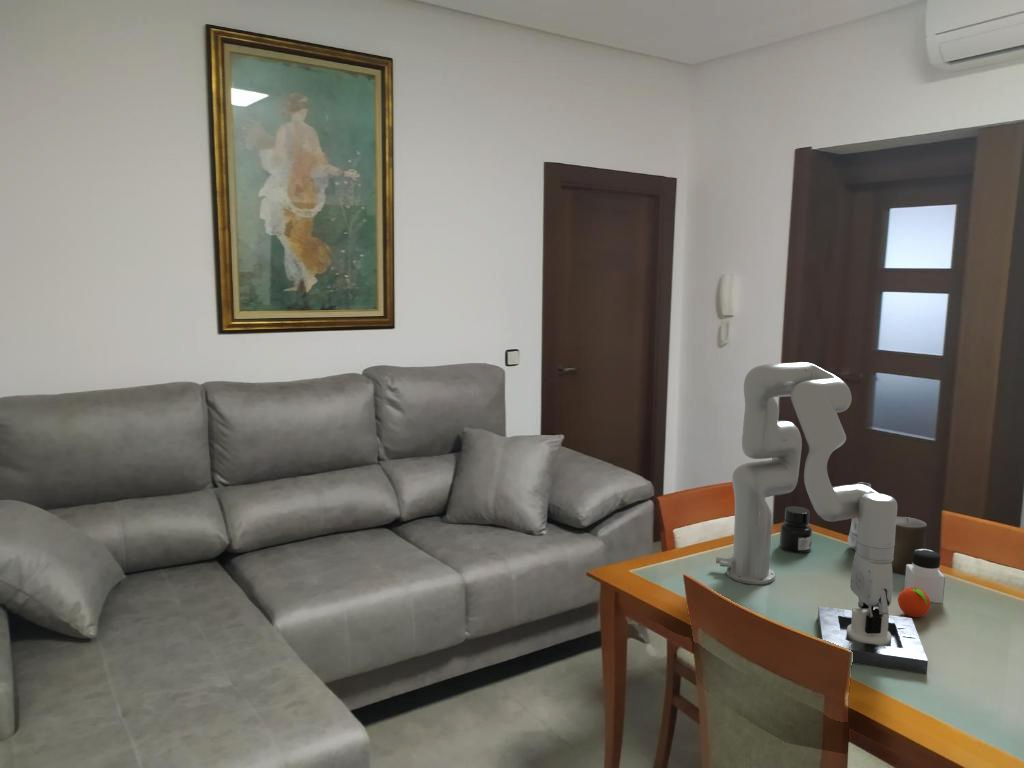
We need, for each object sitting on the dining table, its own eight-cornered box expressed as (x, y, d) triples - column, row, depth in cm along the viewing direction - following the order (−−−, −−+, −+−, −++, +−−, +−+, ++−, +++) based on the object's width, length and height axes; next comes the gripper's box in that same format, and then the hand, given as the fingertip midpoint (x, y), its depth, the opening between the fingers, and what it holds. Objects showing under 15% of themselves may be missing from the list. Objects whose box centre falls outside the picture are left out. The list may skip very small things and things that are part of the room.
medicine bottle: (943, 603, 189) (947, 558, 187) (912, 601, 190) (916, 556, 188) (933, 591, 196) (937, 547, 194) (903, 589, 197) (907, 545, 195)
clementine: (939, 623, 179) (941, 594, 178) (912, 625, 178) (915, 597, 177) (916, 608, 187) (918, 580, 185) (890, 610, 185) (892, 582, 184)
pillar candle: (921, 578, 204) (926, 525, 202) (881, 571, 209) (885, 518, 207) (924, 567, 212) (928, 515, 210) (885, 560, 217) (889, 509, 215)
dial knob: (856, 648, 165) (858, 618, 164) (840, 628, 174) (842, 600, 173) (898, 648, 164) (900, 619, 163) (880, 629, 173) (882, 601, 172)
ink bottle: (807, 556, 220) (809, 517, 218) (775, 550, 224) (777, 511, 222) (814, 546, 228) (816, 507, 226) (784, 540, 232) (786, 503, 231)
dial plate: (822, 658, 163) (823, 644, 163) (817, 617, 182) (818, 605, 181) (926, 674, 157) (927, 659, 156) (910, 630, 175) (911, 617, 175)
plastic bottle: (842, 545, 228) (847, 481, 225) (864, 545, 228) (869, 480, 225) (854, 553, 221) (858, 487, 218) (876, 553, 222) (881, 487, 219)
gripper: (841, 537, 174) (836, 612, 177) (875, 565, 158) (869, 647, 161) (873, 537, 174) (868, 612, 177) (911, 564, 158) (905, 647, 161)
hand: (869, 628), depth 169 cm, fingers closed on dial knob, 2 cm apart
